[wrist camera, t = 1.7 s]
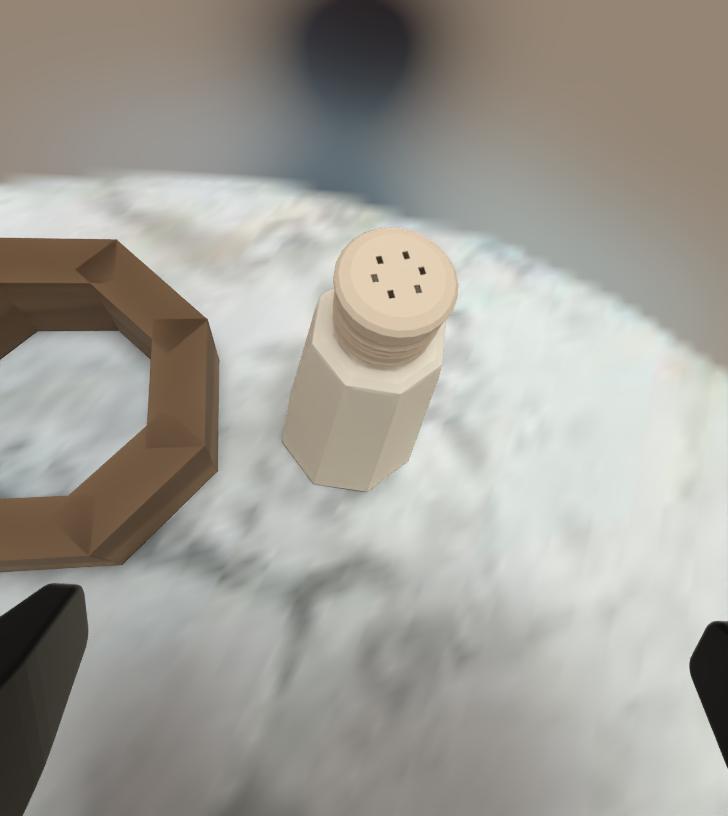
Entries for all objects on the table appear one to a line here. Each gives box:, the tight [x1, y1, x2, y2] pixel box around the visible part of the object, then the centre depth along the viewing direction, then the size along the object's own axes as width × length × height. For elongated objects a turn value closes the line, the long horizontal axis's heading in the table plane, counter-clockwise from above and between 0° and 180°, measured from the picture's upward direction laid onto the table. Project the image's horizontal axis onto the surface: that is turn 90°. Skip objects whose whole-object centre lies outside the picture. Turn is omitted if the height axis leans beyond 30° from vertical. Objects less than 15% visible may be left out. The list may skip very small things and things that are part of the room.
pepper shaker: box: [282, 228, 458, 492], centre depth 17 cm, size 5×5×11 cm
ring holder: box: [0, 238, 219, 572], centre depth 20 cm, size 11×11×4 cm
